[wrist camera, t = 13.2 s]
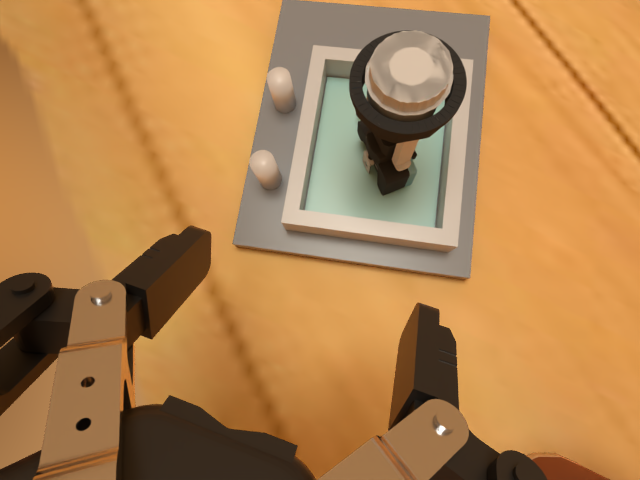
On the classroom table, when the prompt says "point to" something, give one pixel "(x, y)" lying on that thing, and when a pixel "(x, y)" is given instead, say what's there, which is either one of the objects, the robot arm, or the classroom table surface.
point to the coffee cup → (562, 468)
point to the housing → (359, 149)
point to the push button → (403, 100)
